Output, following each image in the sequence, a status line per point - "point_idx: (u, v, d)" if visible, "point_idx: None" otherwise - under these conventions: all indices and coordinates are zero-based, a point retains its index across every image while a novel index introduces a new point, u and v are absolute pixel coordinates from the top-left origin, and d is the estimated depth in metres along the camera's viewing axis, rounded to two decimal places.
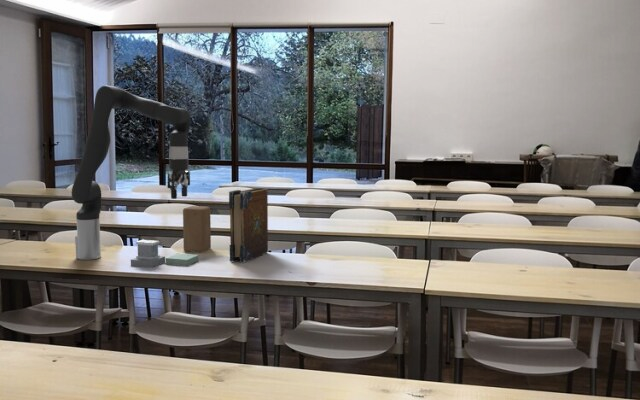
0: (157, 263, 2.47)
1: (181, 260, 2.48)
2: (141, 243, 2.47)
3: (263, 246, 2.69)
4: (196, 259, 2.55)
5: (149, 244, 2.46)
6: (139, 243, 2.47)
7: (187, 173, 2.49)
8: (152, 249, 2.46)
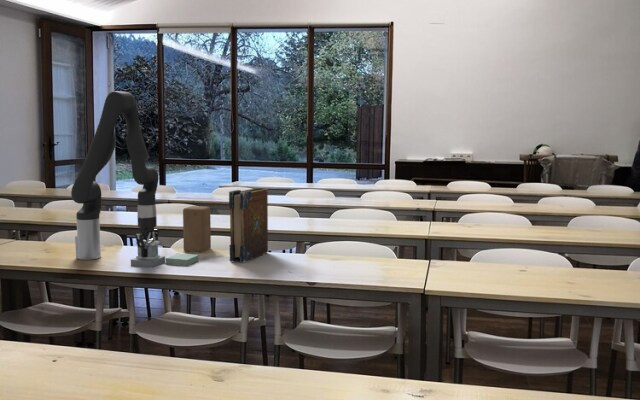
0: (157, 263, 2.47)
1: (181, 260, 2.48)
2: None
3: (263, 246, 2.69)
4: (196, 259, 2.55)
5: (149, 244, 2.46)
6: None
7: (156, 231, 2.53)
8: (152, 249, 2.46)
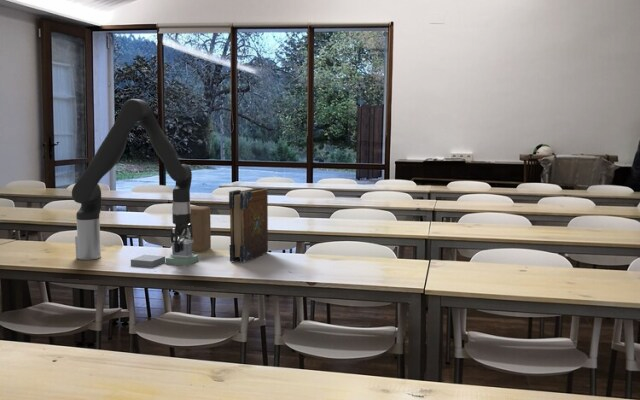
0: (157, 263, 2.47)
1: (181, 260, 2.48)
2: None
3: (263, 246, 2.69)
4: (196, 259, 2.55)
5: (184, 243, 2.49)
6: None
7: (190, 226, 2.57)
8: (186, 247, 2.50)
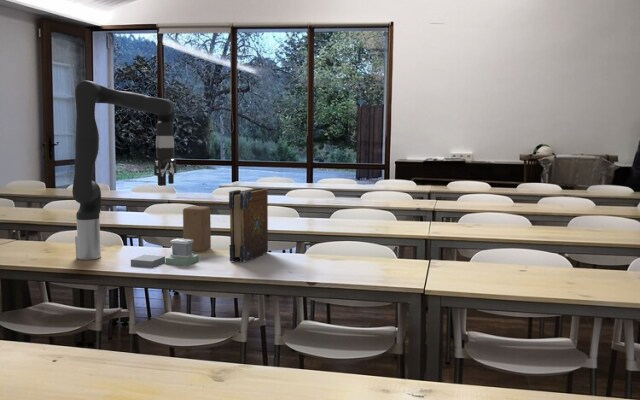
0: (157, 263, 2.47)
1: (181, 260, 2.48)
2: (176, 242, 2.50)
3: (263, 246, 2.69)
4: (196, 259, 2.55)
5: (184, 243, 2.49)
6: (174, 242, 2.50)
7: (173, 161, 2.61)
8: (186, 247, 2.50)
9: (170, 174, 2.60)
